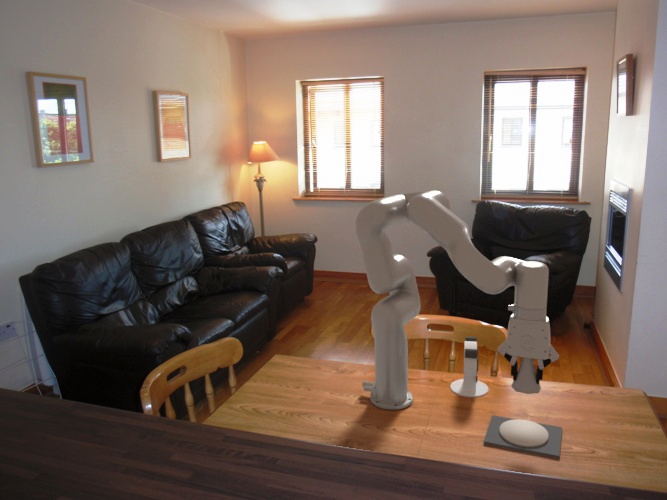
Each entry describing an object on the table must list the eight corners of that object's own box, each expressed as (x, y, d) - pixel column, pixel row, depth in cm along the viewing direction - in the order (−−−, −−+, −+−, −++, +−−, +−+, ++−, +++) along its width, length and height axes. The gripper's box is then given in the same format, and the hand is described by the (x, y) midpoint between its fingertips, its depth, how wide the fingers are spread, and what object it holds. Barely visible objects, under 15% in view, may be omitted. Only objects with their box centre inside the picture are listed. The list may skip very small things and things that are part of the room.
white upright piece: (489, 399, 169) (491, 352, 166) (449, 396, 172) (450, 349, 168) (487, 381, 180) (489, 336, 177) (450, 378, 183) (451, 334, 179)
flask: (543, 396, 142) (545, 358, 140) (512, 393, 143) (514, 356, 141) (539, 382, 149) (541, 346, 147) (509, 380, 150) (511, 345, 148)
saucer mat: (483, 444, 147) (483, 438, 146) (491, 417, 159) (492, 412, 159) (559, 458, 140) (559, 453, 139) (561, 430, 152) (562, 424, 152)
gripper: (492, 312, 141) (489, 381, 146) (566, 320, 135) (561, 392, 139) (496, 303, 148) (494, 369, 152) (567, 310, 141) (563, 379, 146)
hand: (526, 379), depth 146 cm, fingers closed on flask, 4 cm apart
